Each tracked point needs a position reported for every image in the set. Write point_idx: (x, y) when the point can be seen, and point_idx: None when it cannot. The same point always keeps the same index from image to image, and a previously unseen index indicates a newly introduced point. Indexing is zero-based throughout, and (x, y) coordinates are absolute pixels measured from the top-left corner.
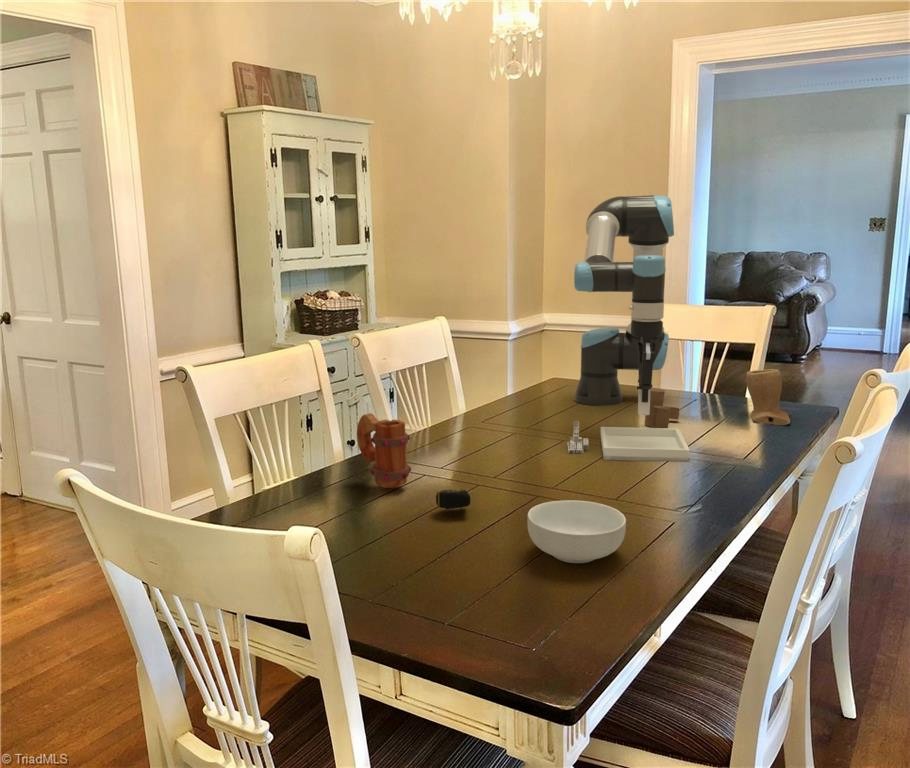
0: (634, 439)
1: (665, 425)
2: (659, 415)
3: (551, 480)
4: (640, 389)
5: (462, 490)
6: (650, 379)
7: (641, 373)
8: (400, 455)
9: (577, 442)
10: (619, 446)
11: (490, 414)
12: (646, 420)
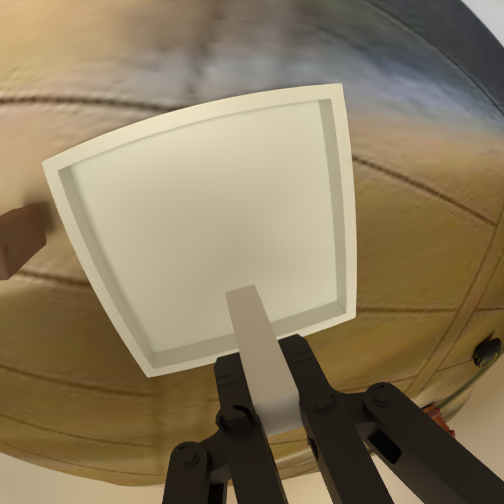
0: (158, 279)
1: (32, 216)
2: (21, 256)
3: (437, 323)
4: (301, 421)
5: (491, 354)
6: (433, 427)
7: (410, 487)
8: (445, 424)
9: None
10: None
11: (115, 474)
12: None
